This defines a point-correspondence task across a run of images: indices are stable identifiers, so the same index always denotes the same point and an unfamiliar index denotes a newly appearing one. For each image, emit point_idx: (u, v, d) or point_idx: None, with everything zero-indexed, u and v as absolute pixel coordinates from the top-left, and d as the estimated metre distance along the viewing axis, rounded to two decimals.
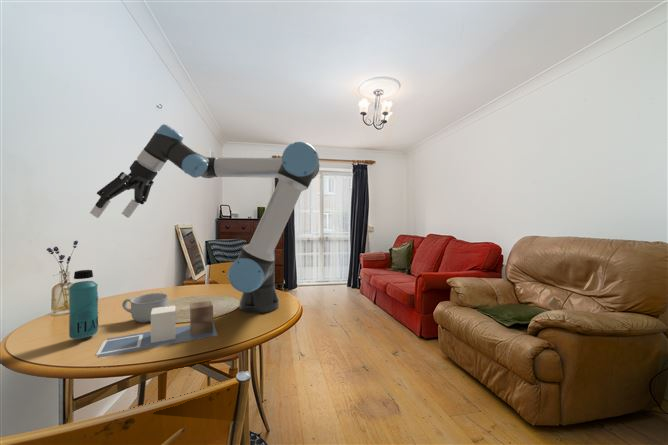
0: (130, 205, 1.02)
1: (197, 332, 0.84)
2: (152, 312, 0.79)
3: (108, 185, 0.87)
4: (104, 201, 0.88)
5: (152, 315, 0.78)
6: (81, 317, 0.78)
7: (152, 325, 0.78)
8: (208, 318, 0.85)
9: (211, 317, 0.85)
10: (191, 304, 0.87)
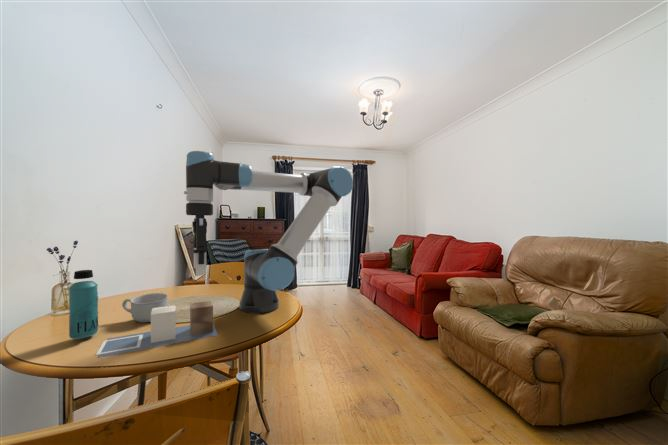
0: None
1: (197, 332, 0.84)
2: (152, 312, 0.79)
3: (198, 237, 0.79)
4: (204, 254, 0.80)
5: (152, 315, 0.78)
6: (81, 317, 0.78)
7: (152, 325, 0.78)
8: (208, 318, 0.85)
9: (211, 317, 0.85)
10: (191, 304, 0.87)
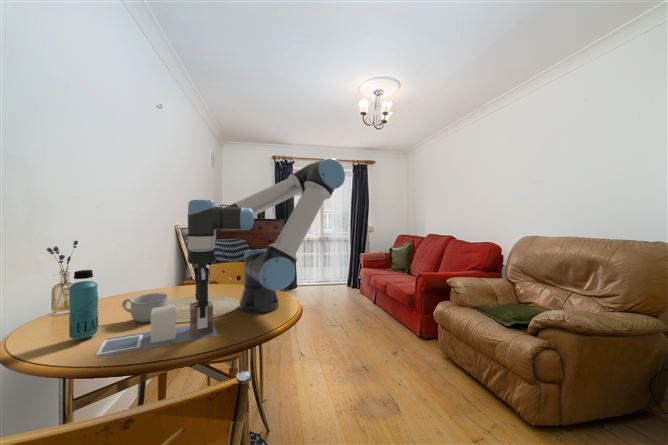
0: None
1: (197, 332, 0.84)
2: (152, 312, 0.79)
3: (200, 293, 0.81)
4: (205, 308, 0.83)
5: (152, 315, 0.78)
6: (81, 317, 0.78)
7: (152, 325, 0.78)
8: (208, 318, 0.85)
9: (211, 317, 0.85)
10: (191, 304, 0.87)
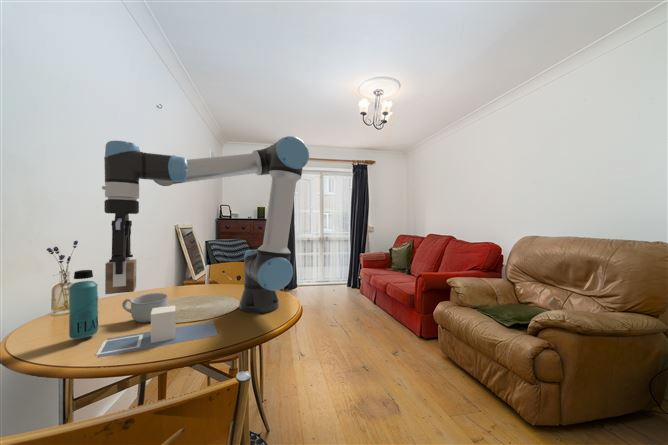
0: None
1: (113, 291, 0.73)
2: (152, 312, 0.79)
3: (114, 245, 0.71)
4: (122, 264, 0.73)
5: (152, 315, 0.78)
6: (81, 317, 0.78)
7: (152, 325, 0.78)
8: (127, 276, 0.75)
9: (131, 275, 0.75)
10: None
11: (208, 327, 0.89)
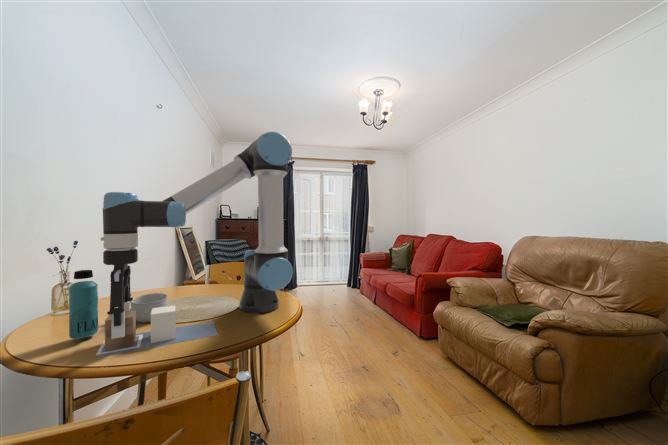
0: None
1: (113, 347, 0.74)
2: (152, 312, 0.79)
3: (112, 297, 0.70)
4: (120, 315, 0.72)
5: (152, 315, 0.78)
6: (81, 317, 0.78)
7: (152, 325, 0.78)
8: (126, 331, 0.75)
9: (131, 329, 0.76)
10: (110, 314, 0.77)
11: (208, 327, 0.89)
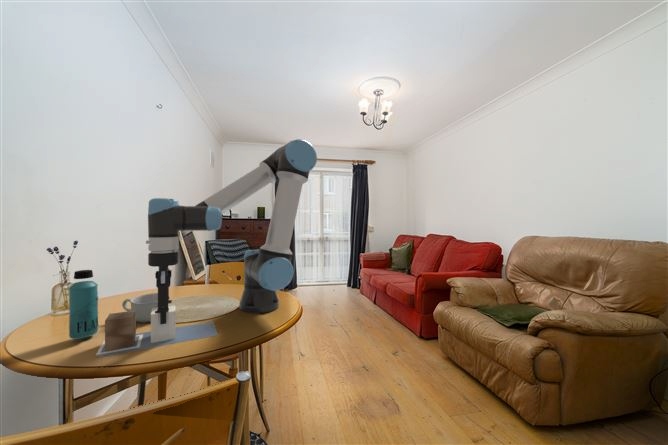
0: None
1: (113, 347, 0.74)
2: (152, 312, 0.79)
3: (159, 298, 0.76)
4: (166, 314, 0.78)
5: (152, 315, 0.78)
6: (81, 317, 0.78)
7: (152, 325, 0.78)
8: (126, 331, 0.75)
9: (131, 329, 0.76)
10: (110, 314, 0.77)
11: (208, 327, 0.89)
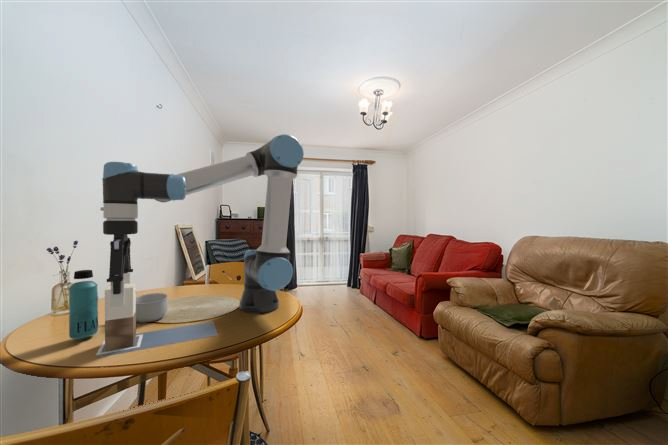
0: None
1: (113, 347, 0.74)
2: (107, 288, 0.74)
3: (112, 264, 0.69)
4: (120, 283, 0.71)
5: (106, 291, 0.73)
6: (81, 317, 0.78)
7: (106, 302, 0.73)
8: (126, 331, 0.75)
9: (131, 329, 0.76)
10: None
11: (208, 327, 0.89)
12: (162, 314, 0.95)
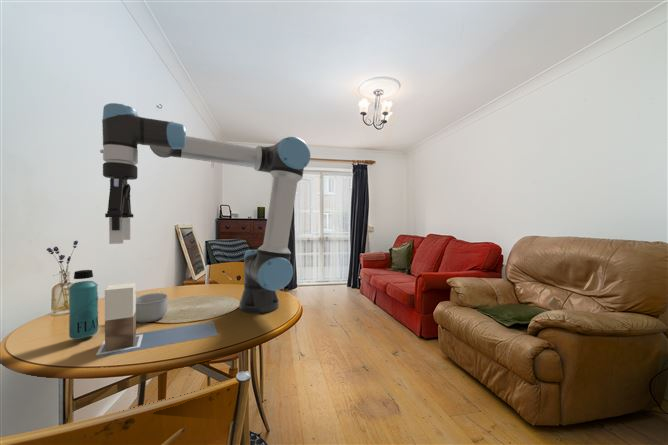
0: None
1: (113, 347, 0.74)
2: (107, 288, 0.74)
3: (111, 199, 0.69)
4: (119, 220, 0.70)
5: (106, 291, 0.73)
6: (81, 317, 0.78)
7: (106, 302, 0.73)
8: (126, 331, 0.75)
9: (131, 329, 0.76)
10: None
11: (208, 327, 0.89)
12: (162, 314, 0.95)
